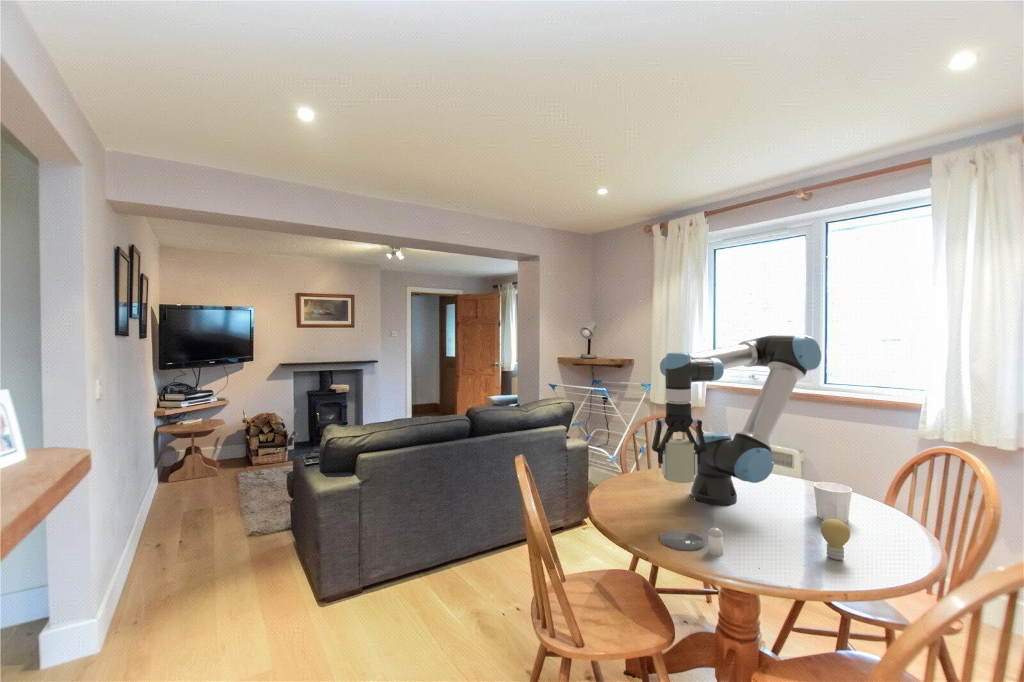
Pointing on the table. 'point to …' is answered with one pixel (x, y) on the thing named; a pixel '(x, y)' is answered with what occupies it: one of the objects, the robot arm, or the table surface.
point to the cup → (832, 501)
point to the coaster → (682, 540)
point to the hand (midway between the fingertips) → (679, 473)
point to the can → (679, 461)
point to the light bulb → (835, 537)
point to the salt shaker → (715, 542)
